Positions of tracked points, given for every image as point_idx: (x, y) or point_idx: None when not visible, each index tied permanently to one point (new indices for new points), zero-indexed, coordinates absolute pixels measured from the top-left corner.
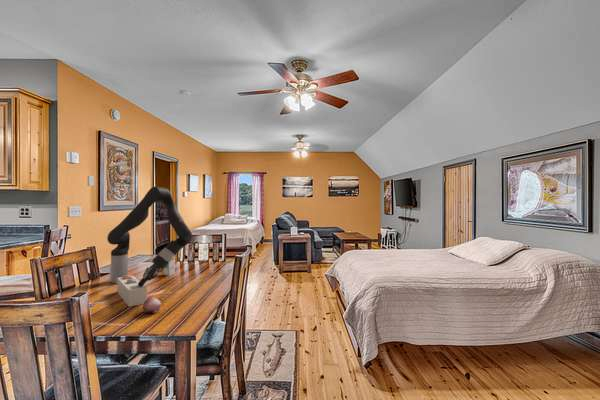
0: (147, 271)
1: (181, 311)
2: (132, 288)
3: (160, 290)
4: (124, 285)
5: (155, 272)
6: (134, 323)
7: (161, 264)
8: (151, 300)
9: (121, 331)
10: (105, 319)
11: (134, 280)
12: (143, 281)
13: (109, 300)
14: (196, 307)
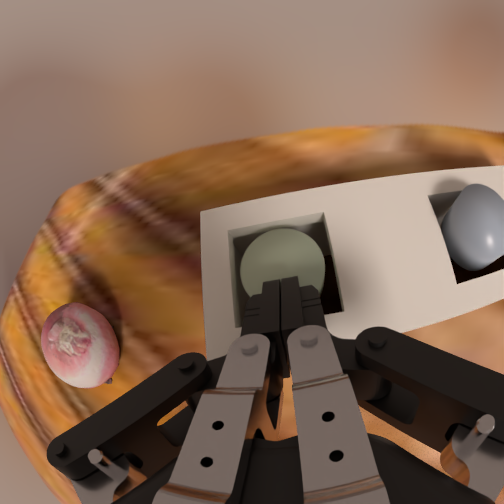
0: (297, 426)
1: None
2: (261, 237)
3: None
4: (394, 177)
5: (63, 471)
6: (57, 271)
7: None
8: (42, 332)
9: (44, 237)
10: (141, 181)
11: (474, 248)
12: (243, 334)
13: (408, 170)
14: None
